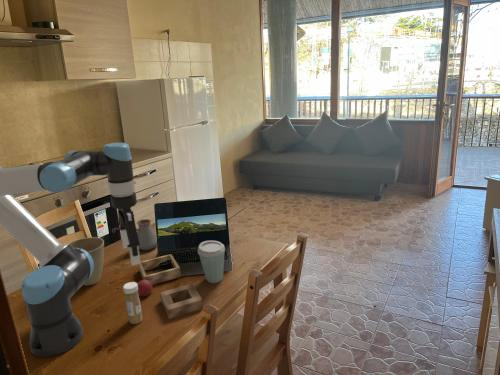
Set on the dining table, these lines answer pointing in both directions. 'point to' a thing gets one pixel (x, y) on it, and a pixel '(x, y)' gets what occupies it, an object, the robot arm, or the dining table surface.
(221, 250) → the disposable coffee cup
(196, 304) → the collar block
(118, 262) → the dining table surface
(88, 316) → the dining table surface
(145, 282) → the fruit
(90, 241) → the plant pot
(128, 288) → the sprinkles bottle
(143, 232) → the coffee pot
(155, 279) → the open square frame
